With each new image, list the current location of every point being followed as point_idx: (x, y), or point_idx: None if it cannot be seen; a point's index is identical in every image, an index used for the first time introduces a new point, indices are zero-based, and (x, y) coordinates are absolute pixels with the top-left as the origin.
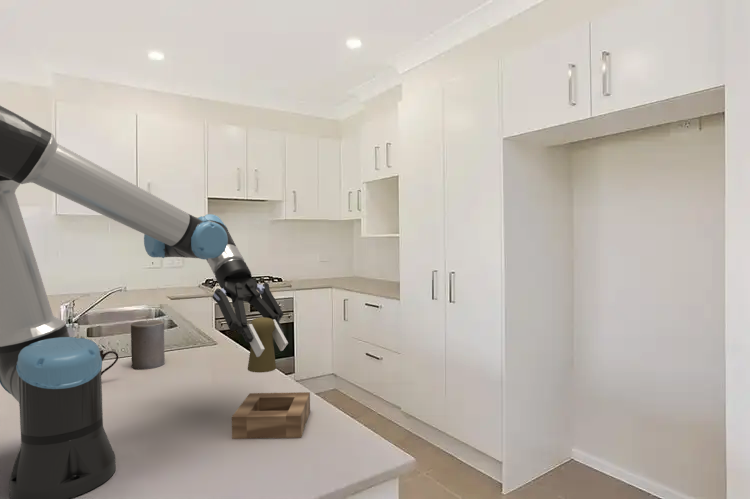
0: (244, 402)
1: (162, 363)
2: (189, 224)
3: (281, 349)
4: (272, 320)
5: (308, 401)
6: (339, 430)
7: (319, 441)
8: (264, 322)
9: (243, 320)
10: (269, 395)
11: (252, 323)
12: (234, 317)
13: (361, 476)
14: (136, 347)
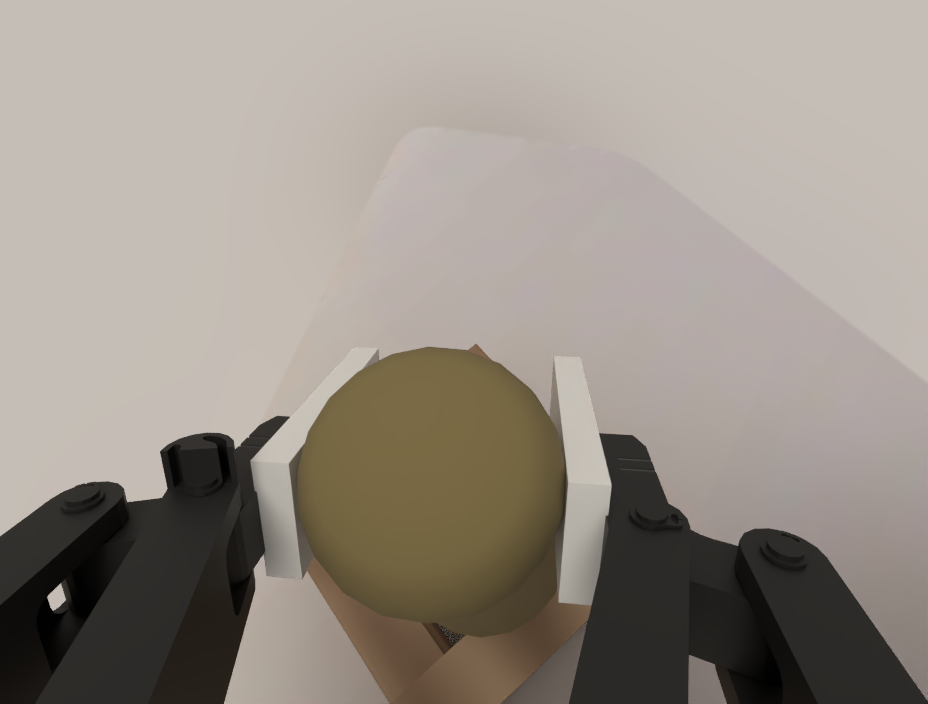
0: (531, 660)
1: None
2: None
3: None
4: (361, 371)
5: None
6: (373, 326)
7: (464, 318)
8: (479, 358)
9: (660, 545)
10: (395, 635)
11: (558, 481)
12: (807, 610)
13: (529, 143)
14: None
